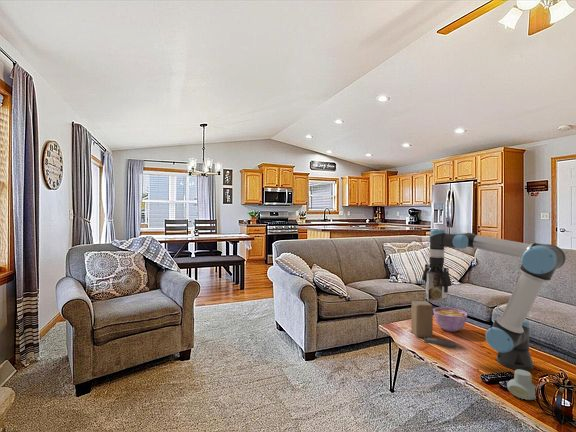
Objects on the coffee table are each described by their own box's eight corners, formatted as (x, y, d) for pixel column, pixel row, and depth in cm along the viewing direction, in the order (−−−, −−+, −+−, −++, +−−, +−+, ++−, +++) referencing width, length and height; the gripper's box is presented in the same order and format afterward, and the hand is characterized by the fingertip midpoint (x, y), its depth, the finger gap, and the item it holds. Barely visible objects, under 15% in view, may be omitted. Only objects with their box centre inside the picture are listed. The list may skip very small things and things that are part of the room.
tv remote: (455, 345, 188) (455, 341, 188) (454, 348, 185) (454, 344, 184) (425, 340, 196) (425, 336, 196) (424, 342, 193) (424, 338, 193)
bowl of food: (426, 325, 219) (426, 308, 219) (450, 322, 225) (450, 306, 225) (449, 336, 200) (449, 318, 200) (474, 333, 206) (475, 314, 206)
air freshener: (503, 393, 139) (504, 369, 139) (512, 387, 143) (512, 364, 143) (534, 406, 130) (534, 381, 130) (542, 399, 134) (542, 375, 134)
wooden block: (433, 337, 199) (433, 305, 198) (416, 337, 199) (416, 305, 198) (426, 331, 209) (426, 300, 208) (410, 331, 209) (410, 300, 208)
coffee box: (443, 299, 187) (443, 271, 187) (445, 302, 181) (446, 273, 180) (425, 298, 189) (426, 270, 189) (427, 301, 183) (428, 272, 183)
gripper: (459, 259, 176) (458, 300, 177) (424, 253, 196) (423, 290, 197) (450, 260, 172) (449, 301, 173) (415, 254, 193) (414, 291, 194)
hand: (435, 295), depth 185 cm, fingers closed on coffee box, 10 cm apart
